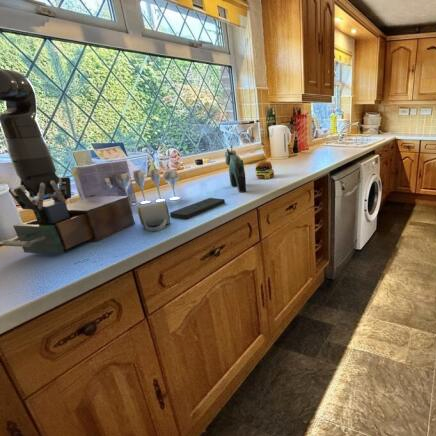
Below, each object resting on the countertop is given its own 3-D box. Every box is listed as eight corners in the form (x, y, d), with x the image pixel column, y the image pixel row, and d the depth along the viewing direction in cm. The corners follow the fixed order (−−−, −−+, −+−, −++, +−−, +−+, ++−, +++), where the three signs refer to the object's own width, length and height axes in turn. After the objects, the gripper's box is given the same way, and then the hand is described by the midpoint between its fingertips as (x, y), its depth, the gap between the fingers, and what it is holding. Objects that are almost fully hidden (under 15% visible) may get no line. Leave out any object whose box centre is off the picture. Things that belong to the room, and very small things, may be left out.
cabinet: (97, 241, 88) (87, 210, 85) (61, 240, 90) (50, 209, 87) (135, 223, 102) (127, 196, 98) (103, 222, 104) (94, 195, 100)
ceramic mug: (143, 223, 101) (138, 201, 98) (170, 219, 105) (165, 197, 102) (141, 234, 92) (135, 211, 90) (171, 229, 96) (165, 206, 93)
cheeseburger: (258, 180, 158) (255, 161, 157) (254, 181, 168) (251, 163, 167) (277, 177, 162) (273, 158, 161) (272, 178, 172) (269, 161, 171)
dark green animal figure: (228, 184, 151) (222, 144, 144) (241, 183, 154) (235, 143, 147) (236, 193, 134) (230, 147, 128) (251, 191, 137) (245, 146, 130)
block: (39, 222, 81) (32, 206, 79) (56, 216, 85) (50, 201, 83) (53, 223, 80) (47, 206, 78) (70, 217, 84) (64, 201, 82)
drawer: (40, 263, 74) (28, 234, 71) (3, 261, 76) (-10, 232, 73) (104, 234, 91) (96, 209, 88) (72, 233, 93) (64, 209, 90)
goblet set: (104, 209, 117) (94, 176, 113) (106, 205, 122) (97, 173, 117) (182, 199, 129) (176, 168, 124) (182, 195, 134) (176, 166, 129)
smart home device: (225, 198, 120) (186, 214, 103) (226, 203, 121) (186, 219, 104) (209, 197, 124) (168, 212, 106) (210, 201, 124) (169, 217, 107)
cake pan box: (132, 199, 130) (122, 158, 124) (140, 201, 128) (129, 159, 122) (83, 213, 114) (68, 167, 108) (90, 215, 112) (76, 167, 106)
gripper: (47, 152, 84) (68, 210, 89) (-15, 160, 70) (13, 228, 76) (70, 151, 82) (89, 210, 88) (10, 160, 69) (38, 229, 75)
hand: (54, 218), depth 82 cm, fingers closed on block, 4 cm apart
